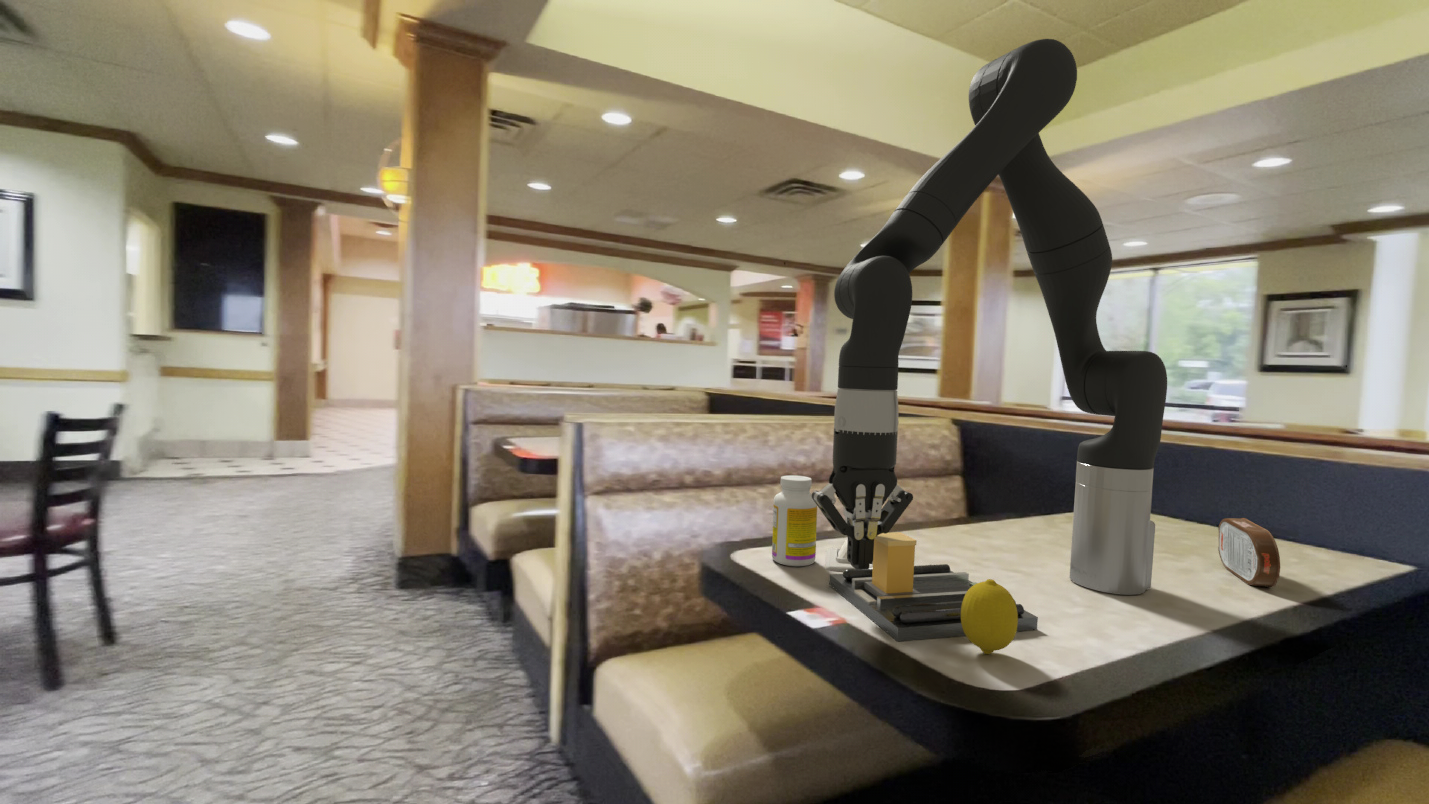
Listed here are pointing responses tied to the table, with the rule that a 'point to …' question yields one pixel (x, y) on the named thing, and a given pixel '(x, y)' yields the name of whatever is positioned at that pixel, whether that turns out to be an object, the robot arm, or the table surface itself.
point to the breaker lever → (892, 565)
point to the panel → (917, 603)
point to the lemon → (989, 616)
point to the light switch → (838, 559)
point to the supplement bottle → (794, 522)
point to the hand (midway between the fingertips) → (859, 567)
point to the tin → (1249, 552)
